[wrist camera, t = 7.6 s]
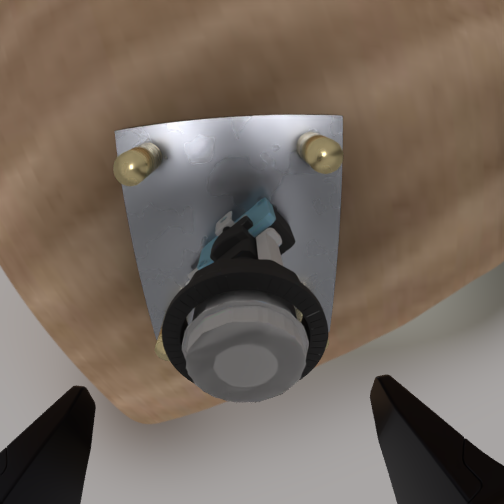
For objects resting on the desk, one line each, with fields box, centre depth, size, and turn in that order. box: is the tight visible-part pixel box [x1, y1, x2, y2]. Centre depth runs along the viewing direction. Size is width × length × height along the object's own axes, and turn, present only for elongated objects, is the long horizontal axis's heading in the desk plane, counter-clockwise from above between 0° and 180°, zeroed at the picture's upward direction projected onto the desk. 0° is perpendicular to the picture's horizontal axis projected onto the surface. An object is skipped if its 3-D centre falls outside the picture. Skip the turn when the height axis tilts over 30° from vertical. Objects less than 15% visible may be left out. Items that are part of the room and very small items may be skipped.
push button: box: [162, 198, 328, 402], centre depth 14 cm, size 7×5×10 cm
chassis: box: [113, 114, 343, 361], centre depth 17 cm, size 12×14×4 cm
